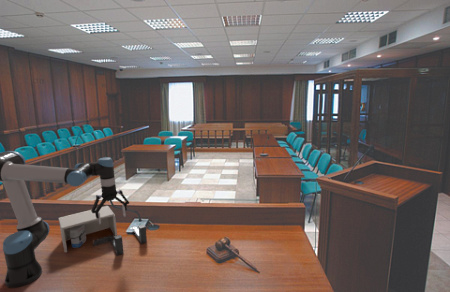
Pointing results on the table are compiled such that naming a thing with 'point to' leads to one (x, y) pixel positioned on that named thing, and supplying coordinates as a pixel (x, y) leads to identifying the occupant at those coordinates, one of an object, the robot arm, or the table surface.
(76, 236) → the ink box
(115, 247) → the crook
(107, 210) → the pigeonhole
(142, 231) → the plain bar
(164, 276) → the table surface
